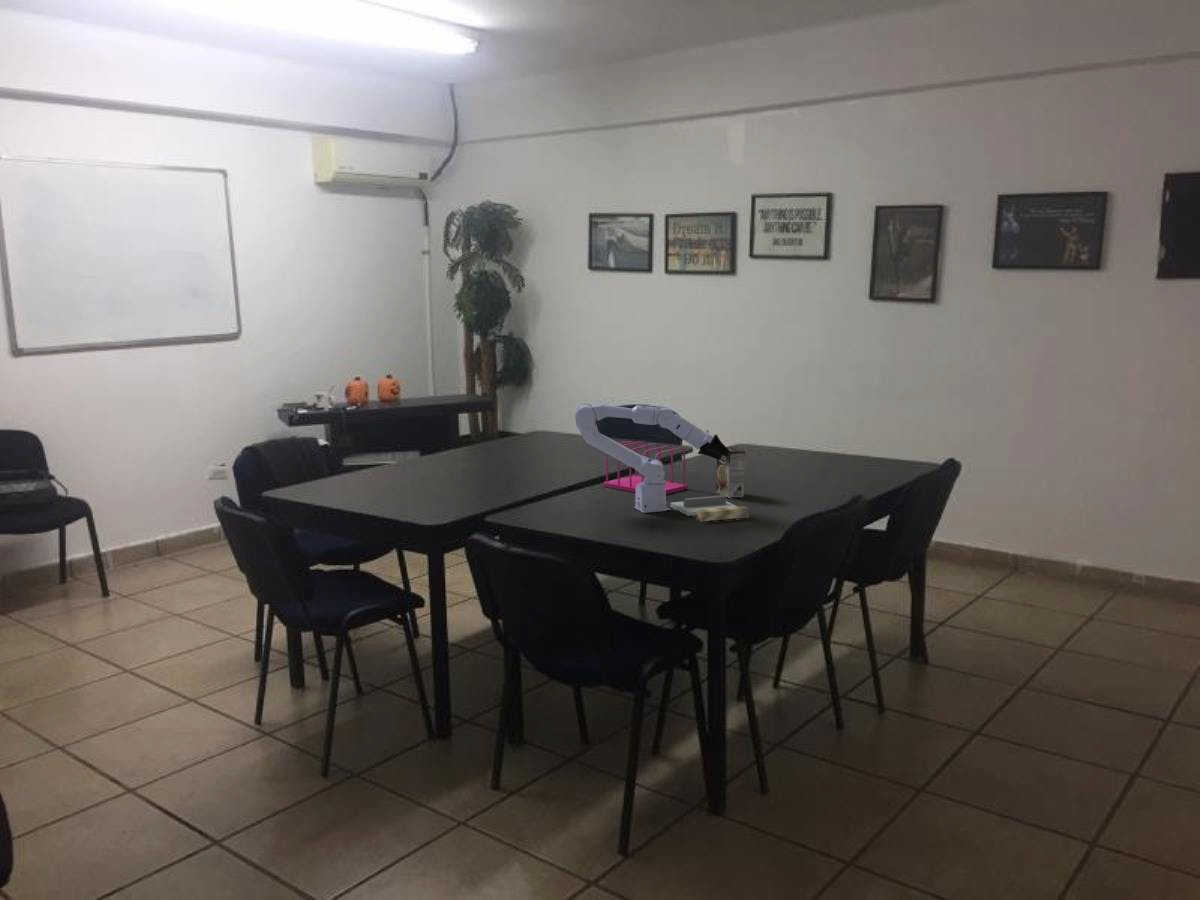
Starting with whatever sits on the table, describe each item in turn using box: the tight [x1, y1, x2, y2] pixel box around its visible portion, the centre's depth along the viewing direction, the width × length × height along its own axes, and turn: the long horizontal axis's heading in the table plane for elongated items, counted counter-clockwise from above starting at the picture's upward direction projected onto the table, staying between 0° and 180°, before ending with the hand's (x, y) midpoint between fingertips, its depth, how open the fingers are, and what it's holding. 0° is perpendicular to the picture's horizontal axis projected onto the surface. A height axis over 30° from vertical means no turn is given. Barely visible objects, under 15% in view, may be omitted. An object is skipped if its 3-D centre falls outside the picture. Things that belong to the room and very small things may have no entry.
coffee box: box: [715, 446, 746, 499], centre depth 329 cm, size 9×6×16 cm
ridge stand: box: [669, 495, 737, 516], centre depth 310 cm, size 18×14×4 cm
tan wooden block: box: [696, 505, 750, 521], centre depth 298 cm, size 16×4×4 cm, turn 108°
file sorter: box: [603, 440, 689, 495], centre depth 341 cm, size 17×25×16 cm
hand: (724, 455), depth 307 cm, fingers open, 7 cm apart
